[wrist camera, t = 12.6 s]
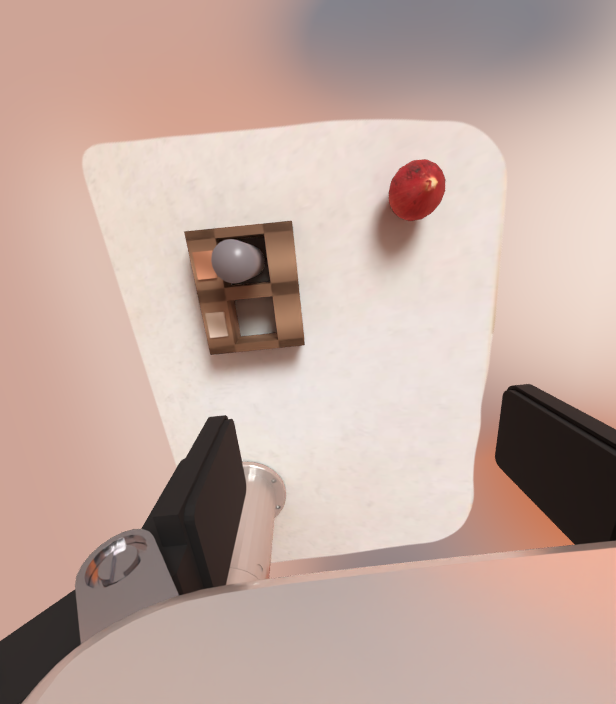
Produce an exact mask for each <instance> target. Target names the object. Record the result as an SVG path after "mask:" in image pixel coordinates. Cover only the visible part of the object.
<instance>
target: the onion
mask: <svg viewBox="0 0 616 704" xmlns="http://www.w3.org/2000/svg"><path fill="white" fill-rule="evenodd" d="M444 192H445V177H444V174H443V172H442V170H441V169H440V168H439V166H438V165H437V164H436V163H434V162H431V161H429V160H426V159H424V160H414V161H411V162H409V163H408V164H406V165H405V166H403V167H401V168H400V169H399V170H398V172H397V173H396V175H395V176H394V177H393V179H392V181H391V185H390V189H389V204H390V206H391V208H392V210H393V212H394V213H395V214H396V215H397V216H399V217H400V218H402V219H405V220H408V221H413V220H419V219H423V218H424V217H426V216H427V215H429V214H431V213H432V212H433V211H434V210H435V209H436V207H437V206H438V205H439V204H440V202H441V200H442V198H443V195H444Z"/></svg>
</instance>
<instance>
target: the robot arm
mask: <svg viewBox="0 0 616 704" xmlns="http://www.w3.org/2000/svg"><path fill="white" fill-rule="evenodd" d="M495 459H496V462H497V464H498V466H499V467H500V468H501V469H502V470H503V471H504V473H505V474H506V475H507V476H508V477H509V478H510V479H511V480H512V481H513V482H514V483H515V484H516V485H518V487H519V488H520V489H521V490H522V491H523V492H524V493H525V494H526V495H527V496H528V497H529V498H530V499H531V500H532V501H533V502H534V503H535V504H536V505H537V506H538V507H539V508H540V509H541V510H542V511H543V512H544V513H545V515H547V516H548V518H550V520H551V521H552V522H553V523H554V524H555V525H556V526H557V527H558V528H559V529H560V530H561V531H562V532H563V533H564V534H565V535H566V536H567V537H568V538H569V539H570V540H571V541H572V542H573V543H574V544H575V545H568V546H559V547H548V548H538V549H530V550H519V551H510V552H500V553H491V554H481V555H472V556H463V557H453V558H445V559H434V560H425V561H416V562H407V563H398V564H389V565H380V566H371V567H363V568H354V569H345V570H336V571H327V572H318V573H309V574H302V575H295V576H287V577H279V578H271V579H269V573H270V562H271V551H272V540H273V528H274V518H275V517H276V516H277V515H278V514H279V513H280V511H281V510H282V508H283V506H284V504H285V499H286V490H285V485H284V483H283V481H282V479H281V478H280V476H279V475H278V474H277V473H276V472H275V471H274V470H272V469H271V468H269V467H267V466H265V465H263V464H259V463H255V462H242V459H241V454H240V450H239V445H238V440H237V435H236V430H235V425H234V421H233V419H228V417H227V416H226V415H225V416H215V417H209V418H208V419H207V421H206V423H205V425H204V426H203V428H202V430H201V432H200V434H199V435H198V437H197V439H196V441H195V442H194V444H193V446H192V448H191V450H190V451H189V453H188V455H187V457H186V458H185V459H183V460H182V461H181V462H180V463H179V465H178V466H177V468H176V470H175V472H174V473H173V475H172V477H171V478H170V480H169V482H168V484H167V485H166V487H165V489H164V491H163V492H162V494H161V496H160V497H159V499H158V501H157V503H156V505H155V506H154V508H153V510H152V511H151V513H150V515H149V516H148V518H147V520H146V522H145V523H144V525H143V527H142V528H141V529H132V530H129V531H125V532H122V533H120V534H118V535H116V536H114V537H112V538H110V539H109V540H107V541H106V542H104V543H103V544H101V545H100V546H99V547H98V548H97V549H96V550H95V551H94V552H92V553H91V554H90V555H89V557H88V558H87V559H86V560H85V562H84V563H83V565H82V566H81V568H80V570H79V572H78V574H77V576H76V583H75V590H74V591H72V592H71V593H69V594H68V595H67V596H65V597H63V598H62V599H60V600H59V601H58V602H56V603H55V604H53V605H52V606H50V607H49V608H48V609H46V610H45V611H43V612H42V613H40V614H39V615H37V616H36V617H35V618H33V619H32V620H30V621H29V622H27V623H26V624H24V625H23V626H22V627H20V628H19V629H17V630H16V631H14V632H13V633H11V634H10V635H8V636H7V637H6V638H4V639H3V640H1V641H0V704H616V430H615V429H614V428H612V427H610V426H608V425H606V424H604V423H603V422H601V421H599V420H597V419H595V418H593V417H591V416H589V415H587V414H586V413H584V412H582V411H580V410H578V409H576V408H574V407H572V406H571V405H569V404H566V403H565V402H563V401H561V400H559V399H557V398H556V397H554V396H552V395H550V394H548V393H546V392H544V391H542V390H540V389H538V388H537V387H535V386H533V385H530V384H524V385H515V386H510V387H509V388H508V389H507V391H505V392H504V393H503V398H502V406H501V414H500V422H499V430H498V437H497V445H496V452H495Z"/></svg>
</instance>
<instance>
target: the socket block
mask: <svg viewBox="0 0 616 704" xmlns="http://www.w3.org/2000/svg"><path fill="white" fill-rule="evenodd" d="M184 233H185V238H186V242H187V247H188V252H189V256H190V261H191V266H192V270H193V275H194V280H195V284H196V289H197V294H198V298H199V303H200V308H201V312H202V317H203V322H204V326H205V331H206V336H207V341H208V345H209V350H210V355H213V354H223V353H233V352H243V351H252V350H262V349H272V348H282V347H291V346H301V345H305V343H304V332H303V323H302V313H301V303H300V294H299V284H298V274H297V265H296V255H295V246H294V236H293V226H292V221H285V222H275V223H265V224H255V225H245V226H235V227H225V228H215V229H205V230H195V231H185V232H184ZM255 237H265V245H266V252H267V260H268V267H269V275H270V281H269V282H259V283H249V284H239V285H232V284H231V283H229V282H226V281H224V280H222V279H221V278H220V277H218V275H217V274H216V273H215V271H214V269H213V267H212V262H211V257H212V252H213V250H214V248H215V247H216V246H217V245H218V244H219V243H220V242H222V241H224V240H228V239H234V240H235V239H245V238H255ZM269 296H272V297H273V305H274V312H275V320H276V327H277V333H270V334H261V335H251V336H241V335H240V330H239V324H238V318H237V313H236V307H235V301H234V300H240V299H249V298H259V297H269Z"/></svg>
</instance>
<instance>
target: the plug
mask: <svg viewBox="0 0 616 704" xmlns="http://www.w3.org/2000/svg"><path fill="white" fill-rule="evenodd" d="M211 262H212V267H213V269H214V271H215V273H216V274H217V275H218V277H220V278H221V279H222V280H224V281H226V282H229V283H240V282H243V281H245V280H248V279H250V278H253V277H255V276H258V275H259V274H260V273H261V272H262V271H263V269H264V266H265V258H264V255H263V253H262V251H261V250H260V249H259V248H257V247H256V246H253V245H250V244H247V243H244V242H241V241H238V240H234V239H228V240H224V241H222V242H220V243H219V244H218V245H217V246H216V247H215V248H214V250H213V252H212V257H211Z"/></svg>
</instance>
